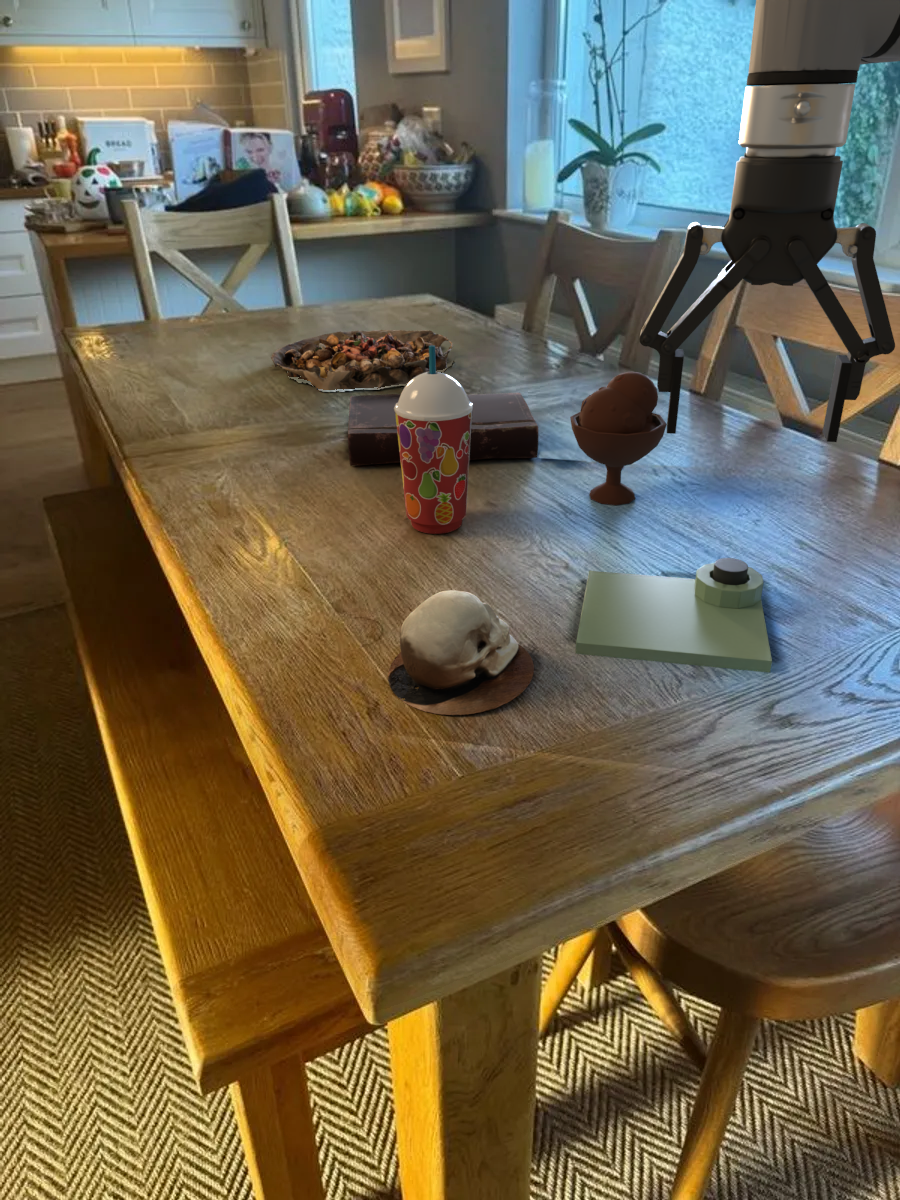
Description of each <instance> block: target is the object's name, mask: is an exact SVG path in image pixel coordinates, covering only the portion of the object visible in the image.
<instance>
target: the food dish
mask: <svg viewBox="0 0 900 1200" xmlns="http://www.w3.org/2000/svg"><path fill="white" fill-rule="evenodd" d="M444 342H449V344H450V346H449V347H448V348H447V350H446V351H445V352H443V350H442V347H441V346H442V344H443V343H444ZM431 345H434V346H435V359H436V371H437V370H443V369H445V368H447V362H448V356H449V354H450V352H451V351H452V349H453V347H454V343H453V342H452V341H451V340H449V338H448V337H447V336H444V335H442V334H439V333H435V332H434V331H432V330H428V329H427V330H425V329H423V330H405V329H403V330H402V329H395V330H394V329H373V330H351V331H336V332H330V333H325V334H321V335H317V336H313V337H308V338H304V339H300V340H297V341H294V342H292V343H287V344H286V345H284V346H282V347H280V348H278V349H276V350H275V351H274V352H272V353H271V356H270V359H271V361H272V363H273V364H274V368H278V367H279V368H280V369H283V370H285V372H286V371H288V373H286V376H287V377H288V376H289V377H299V378H298V379H304V380H307V381H310V382H311V384H312V385H313V386H315V387H314V388H316V389H317V388H318V389H323V390H335V389H336V390H337V389H343V390H344V389H355V388H374V387H378V388H381V387H385V386H391V385H399V384H406V383H408V382H409V381H410V380H412V379H413V378H414V377H416V376H418V375H420V374H422V373H425V372H430V370H429V346H431ZM443 355H444V356H443ZM300 376H301V377H300ZM313 386H312V387H313ZM378 388H377V389H378Z"/></svg>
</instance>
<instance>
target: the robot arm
mask: <svg viewBox="0 0 900 1200" xmlns="http://www.w3.org/2000/svg"><path fill="white" fill-rule="evenodd" d="M753 17H754V18H753V27H752V37H751V38H752V39H751V45H750V56H749V65H748V73H747V76H746V77H747V78H746V86H745V88H744V97H743V105H742V112H741V113H742V114H741V121H740V128H739V129H740V130H739V137H738V139H739V140H738V144H739V145H740V147H741V148H745V152H744V154H743V155H742V156H740V157H739V160H736V163H735V171H734V180H733V187H732V194H731V195H732V196H731V203H730V212H729V216H728V218H727V221H726V222H725V224H724V225H723V227H722V226H714V225H713V226H712V225H702V223H700V222H698V221H694V222H691V223H690V224H689V225H688V227H687V228H686V235H685V240H684V245H683V246H684V247H683V251H682V253H681V255H680V257H679V259H678V261H677V262H676V264H675V266H674V268H673V270H672V272H671V274H670V276H669V277H668V280H667V281H666V283H665V285H664V287H663V288H662V291H661V293H659V296H658V298H657V300H656V301H655V304H654V306H653V308H652V309H651V310H650V312H649V314H648V317H647V318H646V321H645V322H644V324H643V326H642V328H641V330H640V333H639V343H640V345H641V346H643V347H648V348H651V349H653V350H655V351H656V352H657V353H658V355H659V362H658V371H657V372H658V373H657V383H656V386H657V387H656V388H657V391H658V392H659V393H669V400H668V409H667V417H666V418H667V419H666V424H667V425H666V434H671V435H672V434H673V435H676V434H677V426H678V425H677V424H678V415H679V406H680V397H681V396H680V395H681V388H682V379H683V378H682V377H683V369H684V360H685V354H684V353H685V352H684V351H685V350H684V349H679V348H680V347H681V346H682V345H683V343H684V342H685V341H686V340H687V339H688V338H689V337H690V336H691V335H692V334H693V332H694V331H695V330H697V328H698V327H699V326H700V325H701V324H702V322H704V320H705V319H706V318H707V317H708V316H709V315H710V314H711V313H712V312H713V311H714V310H715V309H716V308H717V306H718V305H719V304H720V303H721V302H722V301H723V300H724V298H726V296H728V294H729V293H730V292H733V290H734V289H735V288H736V287H737V286H738V285H739V284H740V283H741V281H745V282H746V283H748V284H750V285H751V286H764V285H768V284H776V285H779V286H782V287H793V286H794V285H796V284H799V283H800V282H802V281H803V280H804V282H805V283H806V285H807V286H808V288H809V290H810V291H811V293H812V295H813V296H814V298H815V300H816V301H817V303H818V304H819V306H820V308H821V310H822V311H823V313H824V314H825V316H826V318H827V320H828V321H829V322H830V324H831V325H832V327H833V329H834V331H835V332H836V334H837V336H838V337H839V339H840V341H841V342H842V343H843V345H844V347H845V348H846V350H847V354H836V357H835V362H834V366H833V367H834V368H833V373H832V377H831V378H832V379H831V384H830V389H829V394H828V398H827V399H828V400H827V406H826V411H825V416H824V421H823V427H822V434H823V437H824V438H825V441H826V442H827V443H837V442H838V438H839V437H838V436H839V432H840V427H841V421H842V417H843V416H842V415H843V411H844V407H845V401H856V400H857V399H858V397H859V396H860V394H861V388H862V384H863V379H864V375H865V374H864V373H865V369H866V365H867V363H868V362H869V361H870V360H871V359H872V358H874V357H877V356H880V355H890V354H892V353H893V352H894V351H895V348H896V341H895V339H894V334H893V330H892V327H891V326H892V325H891V322H890V319H889V314H888V309H887V307H886V303H885V302H886V301H885V299H884V294H883V291H882V287H881V283H880V280H879V275H878V272H877V267H876V263H875V259H874V256H875V246H876V238H877V231H876V229H875V228H874V227H873V226H871V225H870V224H868V223H865V222H862V223H858V224H857V225H856V226H847V227H844V226H843V227H836V224H835V210H836V205H837V204H836V203H837V198H838V191H839V186H840V181H841V175H842V169H843V163H844V161H843V160H841V158H842V156H840V155H836V152H837V148H841V147H843V146H844V145H846V143H847V139H848V133H849V127H850V120H851V114H852V108H853V102H854V96H855V89H856V84H857V82H858V78H859V77H858V76H859V71H860V66H861V65H869V64H881V63H894V62H900V0H755V8H754V16H753ZM717 243H721V244H722V247H723V249H724V250H725V253H726V254H727V255H728V257H729V259H730V260H729V262H728V263H727V264H726V265H725V266H724V268H722V269H721V271H720V272H719V273H718V274H717V276H716V278H715V279H714V280H712V282H711V283H710V284H709V285H708V286H707V288H705V290H704V291H702V293H701V294H700V295H699V296H698V298H697V299H696V300H695V301H694V302H693V303H692V304H691V305H690V306H689V307H688V309H687V310H686V311H685V312H684V313H683V314H682V316H680V318H679V319H678V320H677V321H676V322H675V323H674V324H673V325H672V327H670V329H668V331H667V332H666V333H665V332H662V331H661V329H662V327H663V326H664V324H665V323H666V321H667V318H668V317H669V315H670V313H671V312H672V310H673V309H674V306H675V304H676V303H677V300H678V299H679V297H680V296H681V293H682V291H683V289H684V287H685V286H686V284H687V282H688V281H689V279H690V277H691V276H692V274H693V271H694V270H695V268H696V266H697V264H698V260H699V258H700V256H705V255H707V254H709V253H710V252H711V249H712V248H713V246H714V245H715V244H717ZM835 244H839V245H840V246H841V250H842V252H843V254H844V255H845V256H847V257H848V258H850V259H851V264H852V265H851V266H852V268H853V272H854V277H855V280H856V285H857V287H858V291H859V295H860V299H861V303H862V306H863V310H864V314H865V318H866V321H867V325H868V329H869V333H870V337H866V338H863V339H862V337H861V335H860V334H859V332H858V331H857V328H856V327H855V325H854V324H853V321H851V318H850V317H849V316H848V314H847V312H846V311H845V309H844V307H843V306H842V304H841V303H840V300H839V299H838V297H837V296H836V294H835V292H834V291H833V289H832V288H831V286H830V284H829V282H828V281H827V279H826V277H825V275H824V274H823V272H822V270H821V269H820V267H819V266H818V264H819V262H821V261H822V259H823V258H824V257H825V256H826V255H827V254H828V253H829V252H830V251H831V249H832V248H833V247H834V246H835Z"/></svg>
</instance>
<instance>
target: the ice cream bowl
mask: <svg viewBox="0 0 900 1200" xmlns="http://www.w3.org/2000/svg"><path fill="white" fill-rule="evenodd" d="M658 400H659V394H658V388H657V387H656V384H655V383H654V381H653V380H651V379H650V377H648V376H647V375H645V374H643V373H641V372H637V371H626V372H621V373H619V374H618V375H616V376H614V377H613V378H612V379H611V380H610V381H609V382H608V384H607V385H606V386H601V387H599V388H598V390H596V391H594V392H592V393H591V394H589V395H588V396H587V397H586V398H584V399H583V400H582V401H581V407H580V411H579V412H577V413H575V414H572V415H571V416H570V417H569V418H570V425H571V431H572V433H573V436H574V438H575V440H576V443H577V445H578V448H579V449H580V450H581V451H582V452H583V453H584V454H585V455H586V457H588V458H590V459H591V460H593V461H594V462H596V463H599V464H601V465H604V466H605V469H606V474H605V476H606V477H605V482H602V483H600V484H598V485H595V487H592V488H591V490H590V491H589V494H588V495H589V497H590V500H591V501H594V502H596V503H599V504H601V505H611V506H620V505H628V504H630V503H632V502H633V501H635V500H636V495H635V492H634V491H633V489H632V488H631V487H629V486H628V485H625V484H624V483H622V470H623V469H624V467H626V466H631V465H632V464H634V463H636V462H638V461H640V460H641V459H642V458H644V457H646V456H647V455H648V454H650V453H651V452H652V451H653V450H654V449H655V448H657V447H658V445H659V444H660V442H661V440H662V439H663V437H664V435H665V431H666V429H667V421H665V419H664V418H663V416H662V415H661V414H657V413H656V412H655V413H654V412H653V411H654V410H655V408H656V407H657V406H658Z"/></svg>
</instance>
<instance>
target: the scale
mask: <svg viewBox="0 0 900 1200" xmlns="http://www.w3.org/2000/svg"><path fill="white" fill-rule="evenodd" d="M714 563H715V562H711V563H705V564H703V565H702V566H701V567H699V568H697V569H696V571H695V578H688V577H676V576H675V577H674V576H664V575H663V576H662V575H648V574H639V573H638V574H637V573H626V572H625V573H624V572H612V571H599V570H588V574H587V580H586V586H585V591H584V597H583V602H582V608H581V613H580V619H579V624H578V630H577V635H576V640H575V652H574V653H575V654H576V655H585V656H593V657H594V656H595V657H603V658H604V657H605V658H616V659H626V660H635V661H646V662H658V663H667V664H676V665H677V664H678V665H686V666H687V665H688V666H696V667H709V668H719V669H728V670H739V671H749V672H760V673H767V674H768V673H771V671H772V665H773V658H772V653H771V648H770V647H771V646H770V642H769V641H770V640H769V635H768V631H767V625H766V620H765V614H764V613H765V612H764V608H763V602H762V601H763V600H762V595H763V589H764V577H763V575H762V574H761V573H760V572H758V571H757V570H756V569H755V568H753V567H751V566H748V572H747V579H746V583H745V584H741V585H725V584H722V583H719V582H716V581H715V580H713V570H714Z"/></svg>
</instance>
